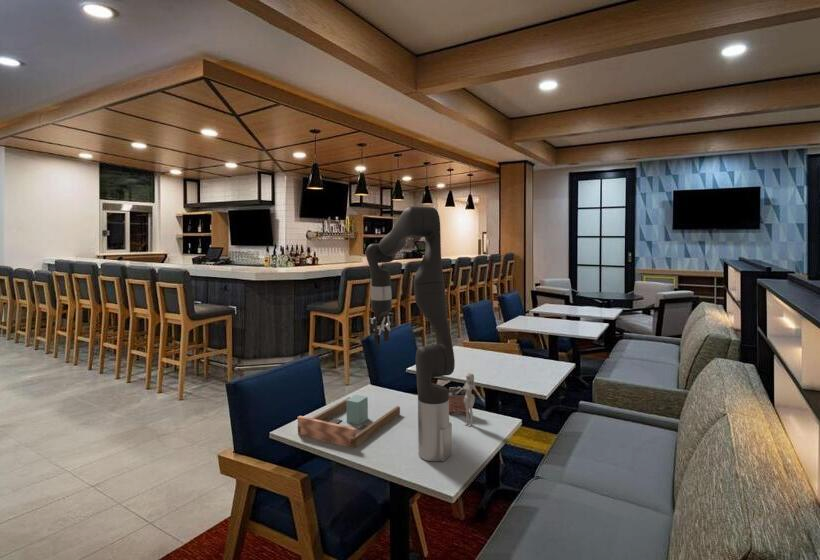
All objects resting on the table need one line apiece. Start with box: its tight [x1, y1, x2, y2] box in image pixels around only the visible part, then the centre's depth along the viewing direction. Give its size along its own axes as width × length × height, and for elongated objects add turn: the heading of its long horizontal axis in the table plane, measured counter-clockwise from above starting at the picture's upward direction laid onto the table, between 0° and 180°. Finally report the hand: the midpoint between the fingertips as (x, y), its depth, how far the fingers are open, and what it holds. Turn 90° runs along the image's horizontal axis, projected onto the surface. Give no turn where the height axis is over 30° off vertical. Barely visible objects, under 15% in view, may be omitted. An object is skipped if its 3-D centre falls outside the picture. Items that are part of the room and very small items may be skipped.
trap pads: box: [326, 417, 369, 434], centre depth 159 cm, size 18×8×1 cm, turn 62°
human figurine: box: [455, 372, 486, 428], centre depth 159 cm, size 12×4×18 cm, turn 47°
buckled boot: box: [448, 386, 466, 417], centre depth 169 cm, size 8×3×10 cm, turn 84°
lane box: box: [297, 396, 401, 449], centre depth 161 cm, size 22×29×6 cm
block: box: [345, 394, 369, 426], centre depth 164 cm, size 5×6×8 cm
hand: (382, 342), depth 172 cm, fingers open, 5 cm apart
